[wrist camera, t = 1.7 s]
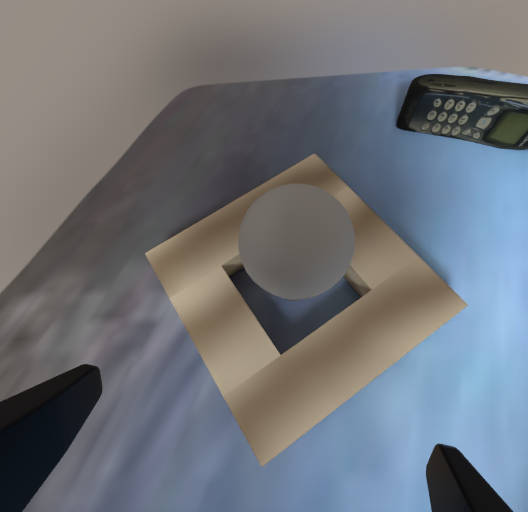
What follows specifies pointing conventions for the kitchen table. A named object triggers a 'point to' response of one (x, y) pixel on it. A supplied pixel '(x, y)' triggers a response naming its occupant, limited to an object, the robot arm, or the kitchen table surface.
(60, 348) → the kitchen table surface
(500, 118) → the mobile phone
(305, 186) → the lightbulb
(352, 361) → the birch holder
